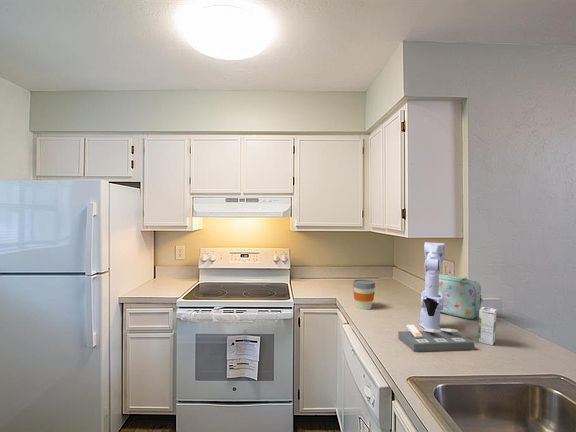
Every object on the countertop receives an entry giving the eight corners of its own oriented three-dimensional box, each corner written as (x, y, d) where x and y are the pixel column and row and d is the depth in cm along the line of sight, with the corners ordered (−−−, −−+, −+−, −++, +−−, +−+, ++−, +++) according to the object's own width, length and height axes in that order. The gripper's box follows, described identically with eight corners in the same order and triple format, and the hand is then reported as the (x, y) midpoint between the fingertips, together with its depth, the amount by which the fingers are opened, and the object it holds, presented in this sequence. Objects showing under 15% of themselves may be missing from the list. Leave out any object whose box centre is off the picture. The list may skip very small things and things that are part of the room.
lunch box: (484, 318, 178) (485, 278, 177) (477, 322, 171) (479, 280, 170) (433, 307, 197) (434, 270, 197) (426, 310, 190) (427, 272, 190)
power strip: (398, 338, 148) (398, 329, 147) (453, 336, 151) (453, 328, 151) (414, 351, 134) (414, 342, 134) (474, 349, 137) (474, 340, 137)
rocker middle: (423, 330, 148) (423, 328, 148) (430, 330, 149) (430, 328, 149) (433, 332, 140) (433, 330, 141) (440, 332, 141) (440, 330, 141)
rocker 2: (440, 330, 149) (440, 328, 149) (447, 330, 150) (447, 328, 150) (451, 332, 141) (451, 329, 142) (458, 331, 142) (458, 329, 142)
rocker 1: (406, 326, 147) (406, 324, 147) (413, 326, 148) (413, 324, 147) (415, 337, 140) (415, 335, 139) (422, 337, 140) (422, 335, 140)
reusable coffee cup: (373, 311, 186) (374, 284, 186) (351, 309, 190) (351, 282, 190) (375, 305, 198) (376, 280, 197) (354, 303, 202) (354, 278, 201)
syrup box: (480, 338, 149) (481, 306, 149) (495, 342, 145) (496, 308, 145) (477, 342, 145) (478, 308, 145) (493, 345, 141) (494, 311, 141)
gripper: (415, 282, 158) (414, 311, 157) (432, 288, 143) (431, 320, 143) (429, 282, 159) (428, 311, 158) (447, 288, 144) (446, 320, 144)
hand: (430, 315), depth 151 cm, fingers closed
